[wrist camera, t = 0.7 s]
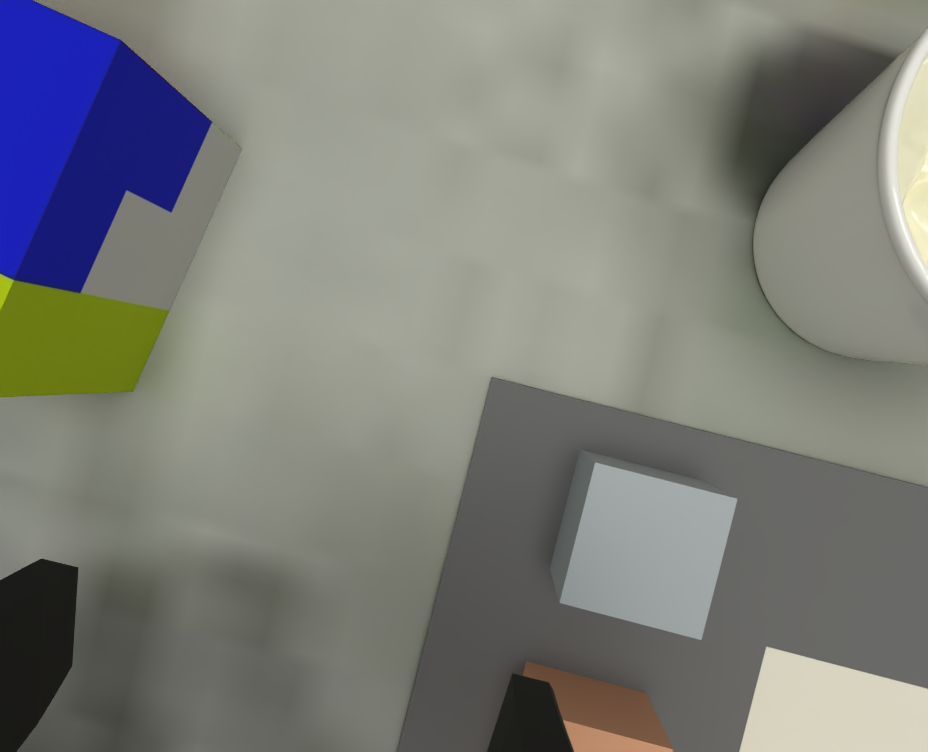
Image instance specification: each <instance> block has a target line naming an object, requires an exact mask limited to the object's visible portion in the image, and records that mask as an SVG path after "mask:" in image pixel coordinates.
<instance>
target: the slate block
mask: <svg viewBox="0 0 928 752" xmlns="http://www.w3.org/2000/svg"><path fill="white" fill-rule="evenodd" d="M736 503H737V498H735V497H733V496H731V495H729V494H727V493H725V492H723V491H721V490H719V489H717V488H715V487H713V486H711V485H709V484H707V483H705V482H703V481H701V480H698V479H694V478H690V477H686V476H683V475H679V474H675V473H671V472H667V471H663V470H659V469H655V468H651V467H647V466H643V465H639V464H636V463H632V462H628V461H624V460H620V459H616V458H612V457H608V456H604V455H600V454H596V453H592V452H588V451H585V450H581V449H580V451H579V455H578V459H577V463H576V467H575V471H574V475H573V479H572V483H571V487H570V491H569V495H568V498H567V502H566V506H565V510H564V514H563V518H562V522H561V526H560V530H559V534H558V538H557V542H556V546H555V550H554V554H553V557H552V561H551V565H550V572H551V575H552V579H553V582H554V586H555V589H556V593H557V596H558V600H559V603H562V604H566V605H570V606H573V607H577V608H581V609H585V610H589V611H592V612H596V613H600V614H604V615H608V616H612V617H615V618H619V619H623V620H627V621H631V622H634V623H638V624H642V625H646V626H650V627H653V628H657V629H661V630H665V631H669V632H673V633H676V634H680V635H684V636H688V637H692V638H695V639H699V640H702V636H703V632H704V628H705V624H706V620H707V616H708V612H709V608H710V605H711V601H712V597H713V593H714V589H715V585H716V581H717V577H718V573H719V570H720V566H721V562H722V558H723V554H724V550H725V546H726V542H727V538H728V534H729V531H730V527H731V523H732V519H733V515H734V511H735V507H736Z"/></svg>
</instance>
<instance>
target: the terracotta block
mask: <svg viewBox="0 0 928 752" xmlns="http://www.w3.org/2000/svg"><path fill="white" fill-rule="evenodd" d="M522 676H525V677H529V678H533V679H537V680H541V681H546V682H549V683H550V685H551V687H552V688H553V690H554V694H555V697H556V700H557V703H558V707H559V710H560V713H561V716H562V719H563V722H564V725H565V728H566V730H567V733H568V736H569V739H570V741H571V744H572V747H573V750H574V752H673V748H672V746H671V744H670V742H669V740H668V737H667V735H666V733H665V731H664V729H663V727H662V725H661V723H660V721H659V719H658V717H657V714H656V712H655V710H654V708H653V706H652V704H651V702H650V700H649V698H648V696H647V694H646V693H644V692H641V691H637V690H633V689H629V688H626V687H622V686H618V685H614V684H610V683H607V682H603V681H599V680H595V679H592V678H588V677H584V676H580V675H577V674H573V673H569V672H565V671H561V670H558V669H554V668H550V667H546V666H543V665H539V664H535V663H531V662H528V661H526V664H525V667H524V671H523V675H522Z"/></svg>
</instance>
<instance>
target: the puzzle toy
mask: <svg viewBox="0 0 928 752" xmlns="http://www.w3.org/2000/svg"><path fill="white" fill-rule="evenodd" d="M241 151H242V148H241V147H240V146H238V145H237V144H236V143H235V142H234V141H233V140H232V139H231V138H229V137H228V136H227V135H226V134H225V133H224V132H223V131H222V130H221V129H219V128H218V127H217V126H216V125H215V124H214V123H213V122H212V121H211V120H209V119H208V118H207V117H206V116H205V115H204V114H203V113H202V112H200V111H199V110H198V109H197V108H196V107H195V106H194V105H193V104H192V103H190V102H189V101H188V100H187V99H186V98H185V97H184V96H183V95H182V94H180V93H179V92H178V91H177V90H176V89H175V88H174V87H173V86H171V85H170V84H169V83H168V82H167V81H166V80H165V79H164V78H163V77H161V76H160V75H159V74H158V73H157V72H156V71H155V70H154V69H153V68H151V67H150V66H149V65H148V64H147V63H146V62H145V61H144V60H142V59H141V58H140V57H139V56H138V55H137V54H136V53H135V52H134V51H132V50H131V49H130V48H129V47H128V46H127V45H126V44H125V43H124V42H122V41H121V40H119V39H117V38H115V37H113V36H110V35H108V34H106V33H104V32H102V31H99V30H97V29H95V28H93V27H90V26H88V25H86V24H84V23H82V22H79V21H77V20H75V19H73V18H70V17H68V16H66V15H64V14H62V13H59V12H57V11H55V10H53V9H50V8H48V7H46V6H44V5H42V4H39V3H37V2H35V1H33V0H0V397H16V396H39V395H62V394H85V393H107V392H130V391H133V390H134V388H135V386H136V384H137V381H138V379H139V377H140V375H141V372H142V370H143V368H144V366H145V364H146V361H147V359H148V357H149V355H150V352H151V350H152V348H153V346H154V344H155V341H156V339H157V337H158V335H159V333H160V330H161V328H162V326H163V324H164V321H165V319H166V317H167V315H168V313H169V310H170V308H171V306H172V304H173V301H174V299H175V297H176V295H177V293H178V290H179V288H180V286H181V284H182V281H183V279H184V277H185V275H186V273H187V270H188V268H189V266H190V264H191V261H192V259H193V257H194V255H195V253H196V250H197V248H198V246H199V244H200V242H201V239H202V237H203V235H204V233H205V230H206V228H207V226H208V224H209V222H210V219H211V217H212V215H213V213H214V210H215V208H216V206H217V204H218V202H219V199H220V197H221V195H222V193H223V190H224V188H225V186H226V184H227V182H228V179H229V177H230V175H231V173H232V170H233V168H234V166H235V164H236V162H237V159H238V157H239V155H240V153H241Z"/></svg>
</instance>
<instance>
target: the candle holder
mask: <svg viewBox="0 0 928 752" xmlns="http://www.w3.org/2000/svg"><path fill="white" fill-rule="evenodd" d="M753 253H754V262H755V268H756V272H757V276H758V279H759V282H760V285H761V288H762V290H763V292H764V294H765V296H766V298H767V300H768V302H769V303H770V305H771V306H772V308H773V309H774V311H775V312H776V314H777V315H778V316H779V317H780V318H781V320H782V321H783V322H784V323H785V324H786V325H787V326H788V327H789V328H790V329H791V330H793V331H794V332H795V333H796V334H798V335H799V336H800V337H802V338H803V339H805V340H806V341H808V342H810V343H811V344H813V345H815V346H817V347H819V348H821V349H824V350H826V351H829V352H831V353H834V354H838V355H841V356H845V357H850V358H856V359H862V360H870V361H880V362H890V363H901V364H913V365H925V366H928V27H927V28H926V29H925V31H924V32H923V33H922V34H921V35H920V36H919V37H918V38H917V39H916V40H915V41H914V42H913V43H912V44H911V45H910V46H909V47H908V48H907V49H906V50H904V51H903V52H902V53H901V54H900V55H899V56H898V57H897V58H896V59H895V60H894V61H893V62H892V63H891V64H890V65H889V66H888V67H887V68H885V69H884V70H883V71H882V72H881V73H880V74H879V75H878V76H877V77H876V78H875V79H874V80H873V81H872V82H871V83H870V84H869V85H868V86H866V87H865V88H864V89H863V90H862V91H861V92H860V93H859V94H858V95H857V96H856V97H855V98H854V99H853V100H852V101H851V102H850V103H849V104H847V105H846V106H845V107H844V108H843V109H842V110H841V111H840V112H839V113H838V114H837V115H836V116H835V117H834V118H833V119H832V120H831V121H830V122H828V123H827V124H826V125H825V126H824V127H823V128H822V129H821V130H820V131H819V132H818V133H817V134H816V135H815V136H814V137H813V138H812V139H811V140H810V141H809V142H808V143H807V144H806V145H805V146H803V147H802V148H801V149H800V150H799V151H798V152H797V153H796V154H795V155H794V156H793V157H792V159H791V160H790V161H789V162H788V163H787V164H786V165H785V166H784V167H783V169H782V170H781V171H780V172H779V173H778V175H777V176H776V178H775V179H774V180H773V182H772V183H771V185H770V187H769V188H768V190H767V192H766V194H765V196H764V198H763V201H762V203H761V206H760V208H759V211H758V215H757V218H756V223H755V228H754V237H753Z"/></svg>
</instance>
